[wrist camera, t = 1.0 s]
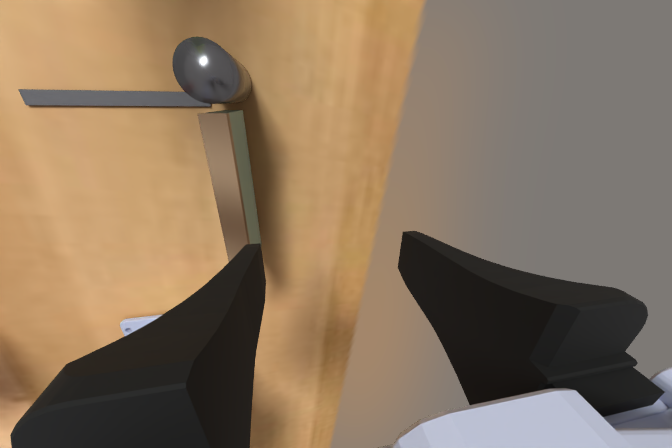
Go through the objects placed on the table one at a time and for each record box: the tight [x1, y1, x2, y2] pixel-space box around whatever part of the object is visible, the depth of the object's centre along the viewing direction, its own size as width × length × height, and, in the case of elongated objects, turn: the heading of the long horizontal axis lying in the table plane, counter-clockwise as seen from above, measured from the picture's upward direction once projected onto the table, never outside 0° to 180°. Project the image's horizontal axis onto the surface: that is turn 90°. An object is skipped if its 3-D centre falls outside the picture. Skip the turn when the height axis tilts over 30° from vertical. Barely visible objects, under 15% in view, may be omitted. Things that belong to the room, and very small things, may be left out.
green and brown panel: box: [198, 110, 261, 262], centre depth 16 cm, size 10×1×6 cm, turn 0°
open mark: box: [18, 89, 211, 106], centre depth 15 cm, size 1×10×1 cm, turn 89°
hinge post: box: [173, 37, 252, 104], centre depth 13 cm, size 2×2×6 cm
